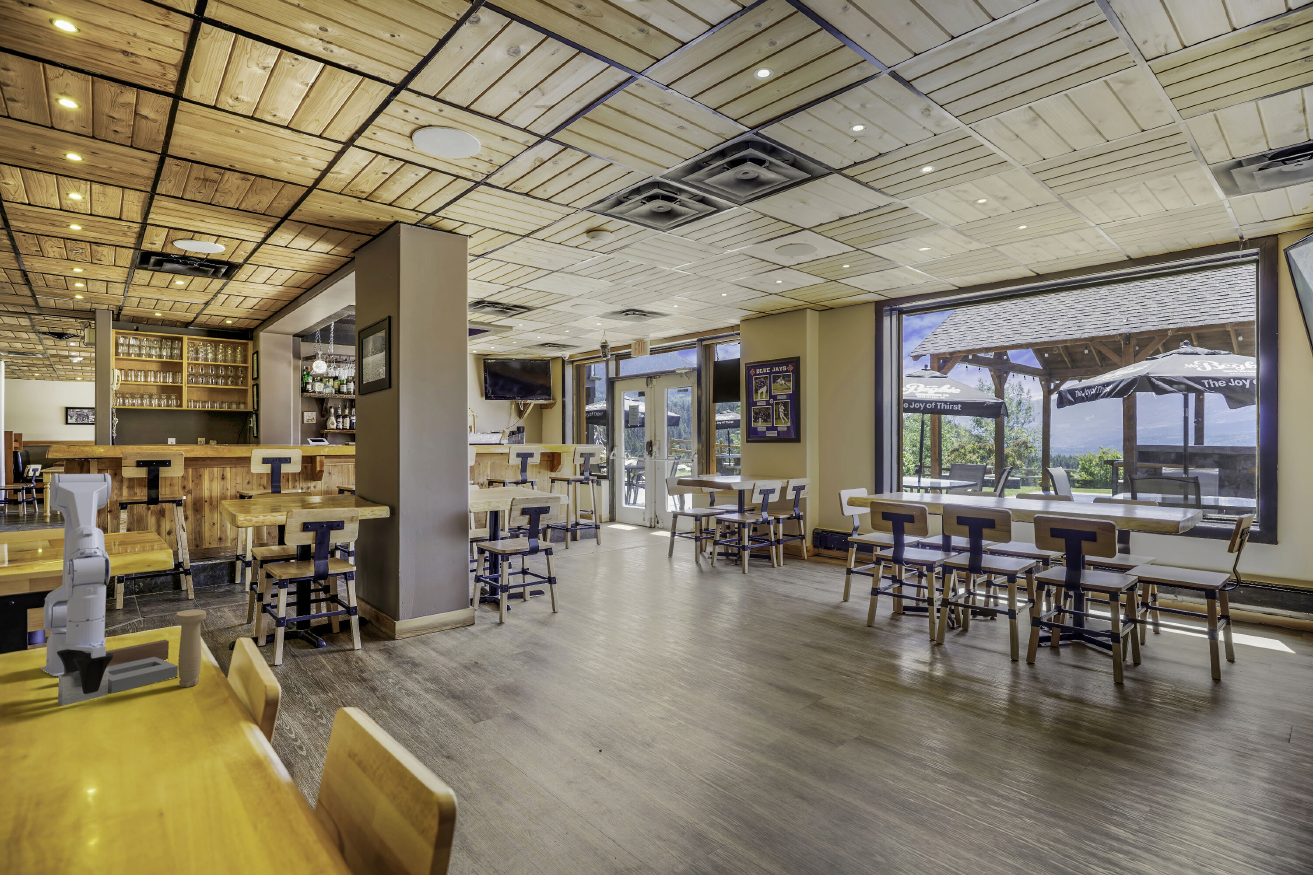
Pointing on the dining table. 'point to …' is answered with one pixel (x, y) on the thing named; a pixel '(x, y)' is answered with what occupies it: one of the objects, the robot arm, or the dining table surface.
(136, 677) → the slotted grey plate
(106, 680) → the white wooden block
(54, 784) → the dining table surface
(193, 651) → the handle
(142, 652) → the brown long flat block
